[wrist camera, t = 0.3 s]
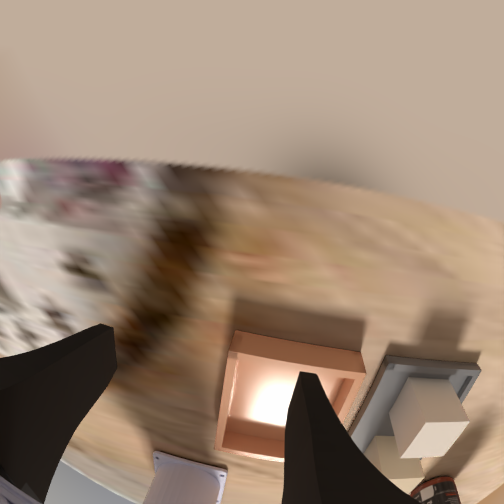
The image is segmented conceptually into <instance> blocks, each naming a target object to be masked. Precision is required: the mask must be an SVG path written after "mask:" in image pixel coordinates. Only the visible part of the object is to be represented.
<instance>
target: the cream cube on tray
mask: <svg viewBox="0 0 504 504" xmlns="http://www.w3.org/2000/svg"><path fill="white" fill-rule="evenodd" d="M389 416H390V420H391V423H392V427H393V431H394V435H395V439H396V443H397V448H398V452H399V456H400V458H424V457H439V456H444V455H445V453H446V452H447V451H448V450H449V448H450V447H451V446H452V445H453V443H454V442H455V441H456V439H457V438H458V437H459V436H460V434H461V433H462V432H463V430H464V429H465V427H466V426H467V425H468V423H469V422H470V420H469V418H468V416H467V414H466V412H465V410H464V408H463V406H462V404H461V402H460V400H459V398H458V396H457V394H456V392H455V390H454V388H453V386H452V385H451V383H450V381H449V380H447V379H429V378H415V377H408V379H407V381H406V383H405V385H404V386H403V388H402V390H401V392H400V394H399V396H398V398H397V399H396V401H395V403H394V405H393V407H392V408H391V410H390V412H389Z"/></svg>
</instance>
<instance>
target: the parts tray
mask: <svg viewBox="0 0 504 504" xmlns="http://www.w3.org/2000/svg"><path fill="white" fill-rule="evenodd" d="M480 372H481V369H480V367H479V366H478V364H477V363H463V362H449V361H437V360H426V359H415V358H406V357H397V356H388V355H386V356H385V358H384V360H383V363H382V365H381V367H380V369H379V372H378V374H377V376H376V378H375V380H374V382H373V384H372V387H371V389H370V391H369V393H368V395H367V397H366V399H365V401H364V403H363V405H362V407H361V409H360V411H359V413H358V414H357V416H356V418H355V420H354V422H353V424H352V426H351V428H350V429H349V431H348V434H349V435H350V437H351V438H352V440H353V441H354V443H355V444H356V445H357V447H358V448H359V449H360V450H361V452H362V453H363V454H364V452H365V451H366V449H367V448H368V446H369V444H370V443H371V441H372V440H373V438H374V437H375V436H395V435H394V431H393V427H392V423H391V420H390V416H389V412H390V410H391V408H392V407H393V405H394V403H395V401H396V399H397V398H398V396H399V394H400V392H401V390H402V388H403V386H404V385H405V383H406V381H407V379H408V377H415V378H429V379H447V380H449V381H450V383H451V385H452V386H453V388H454V390H455V392H456V394H457V396H458V398H459V400H460V402H461V404H462V402H463V401H464V399H465V398H466V396H467V394H468V393H469V391H470V389H471V388H472V386H473V384H474V383H475V381H476V379H477V377H478V376H479V374H480ZM421 459H422V458H420V460H421Z"/></svg>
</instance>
